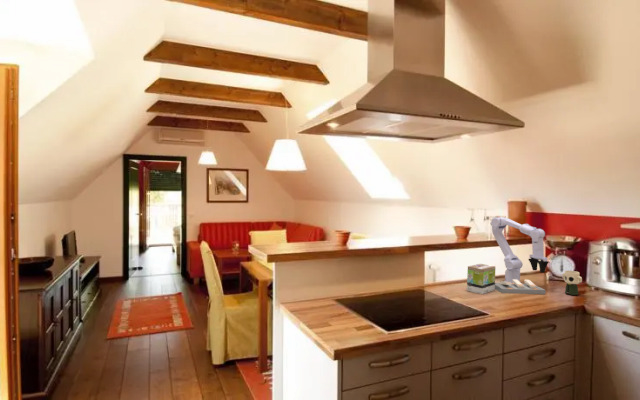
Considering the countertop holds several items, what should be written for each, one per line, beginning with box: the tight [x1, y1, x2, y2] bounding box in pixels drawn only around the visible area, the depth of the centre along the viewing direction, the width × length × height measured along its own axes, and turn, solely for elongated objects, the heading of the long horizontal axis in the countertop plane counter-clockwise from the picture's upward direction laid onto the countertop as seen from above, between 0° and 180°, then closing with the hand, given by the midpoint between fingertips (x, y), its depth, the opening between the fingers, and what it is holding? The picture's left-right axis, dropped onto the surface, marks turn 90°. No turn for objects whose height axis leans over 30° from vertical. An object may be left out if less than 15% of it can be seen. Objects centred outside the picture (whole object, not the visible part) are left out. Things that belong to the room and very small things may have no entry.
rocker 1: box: [499, 281, 511, 285], centre depth 210 cm, size 8×3×2 cm, turn 176°
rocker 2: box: [512, 279, 524, 288], centre depth 210 cm, size 8×3×2 cm, turn 176°
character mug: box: [561, 270, 583, 296], centre depth 202 cm, size 11×7×13 cm, turn 19°
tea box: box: [466, 263, 496, 295], centre depth 209 cm, size 15×10×15 cm
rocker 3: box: [523, 279, 537, 288], centre depth 209 cm, size 8×3×2 cm, turn 176°
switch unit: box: [495, 282, 546, 295], centre depth 210 cm, size 14×24×3 cm, turn 86°
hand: (538, 271), depth 214 cm, fingers open, 7 cm apart
